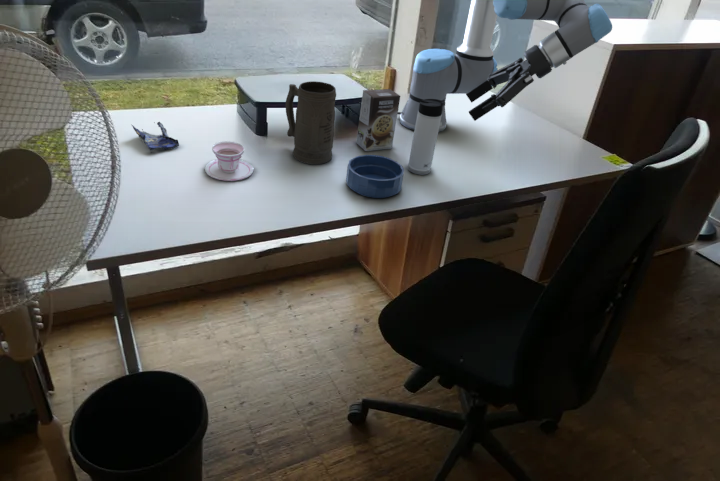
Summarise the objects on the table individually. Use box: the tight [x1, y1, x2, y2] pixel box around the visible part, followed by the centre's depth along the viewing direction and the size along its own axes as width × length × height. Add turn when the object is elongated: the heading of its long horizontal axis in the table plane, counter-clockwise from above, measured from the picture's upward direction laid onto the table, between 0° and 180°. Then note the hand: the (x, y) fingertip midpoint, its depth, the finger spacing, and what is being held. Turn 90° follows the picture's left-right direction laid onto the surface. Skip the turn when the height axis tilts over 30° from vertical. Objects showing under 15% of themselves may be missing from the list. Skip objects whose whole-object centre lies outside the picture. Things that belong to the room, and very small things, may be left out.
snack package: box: [130, 121, 180, 154], centre depth 149 cm, size 12×6×12 cm
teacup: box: [204, 140, 254, 182], centre depth 141 cm, size 12×12×6 cm
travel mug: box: [407, 99, 446, 176], centre depth 151 cm, size 6×7×20 cm
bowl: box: [345, 154, 405, 199], centre depth 143 cm, size 14×14×6 cm
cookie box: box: [355, 88, 401, 152], centre depth 162 cm, size 9×6×16 cm
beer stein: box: [285, 80, 337, 165], centre depth 151 cm, size 15×11×20 cm
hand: (469, 107), depth 145 cm, fingers open, 13 cm apart
